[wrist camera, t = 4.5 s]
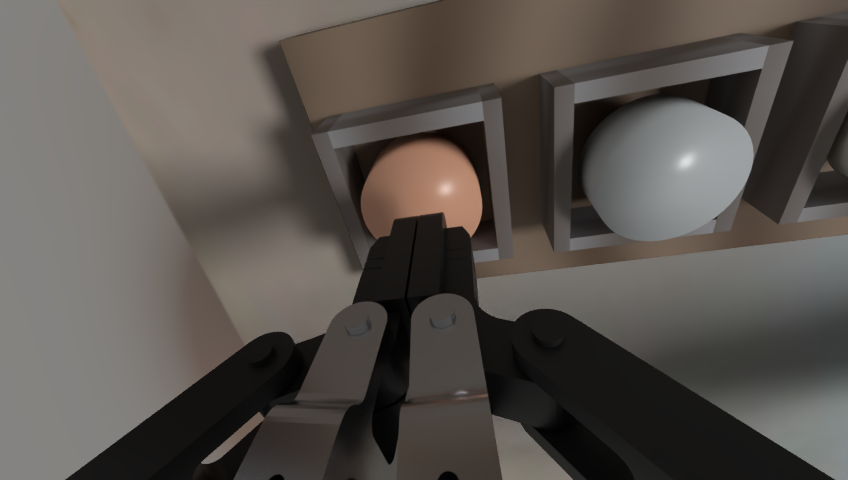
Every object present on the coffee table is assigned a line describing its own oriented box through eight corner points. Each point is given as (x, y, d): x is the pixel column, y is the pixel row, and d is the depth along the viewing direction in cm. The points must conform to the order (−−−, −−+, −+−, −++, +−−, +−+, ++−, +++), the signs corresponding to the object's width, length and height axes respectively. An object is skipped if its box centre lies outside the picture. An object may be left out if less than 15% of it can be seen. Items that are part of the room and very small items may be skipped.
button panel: (1059, -152, 10) (1363, -222, 7) (862, 204, 17) (966, 258, 14) (298, 35, 14) (251, 49, 11) (380, 266, 21) (366, 321, 17)
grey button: (727, 80, 11) (776, 96, 10) (696, 202, 14) (730, 231, 12) (580, 108, 12) (602, 127, 10) (575, 219, 14) (592, 249, 13)
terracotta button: (470, 121, 13) (474, 140, 11) (483, 222, 15) (488, 250, 14) (356, 143, 14) (344, 164, 12) (386, 236, 16) (379, 264, 15)
